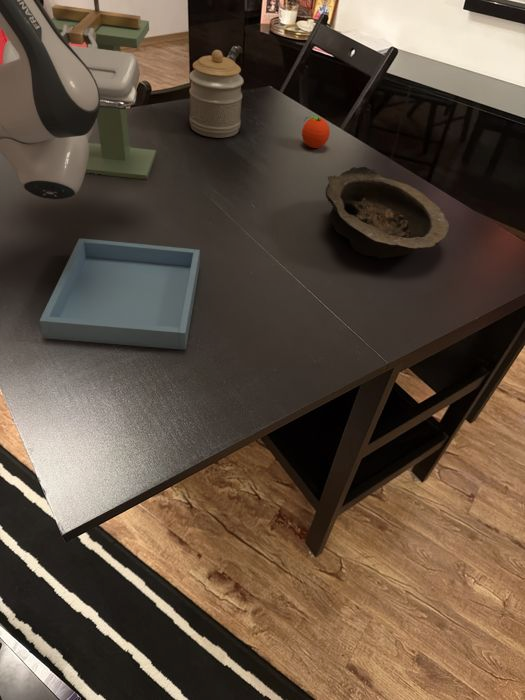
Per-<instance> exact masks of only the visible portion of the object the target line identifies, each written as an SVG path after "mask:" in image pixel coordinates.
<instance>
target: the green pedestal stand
mask: <svg viewBox="0 0 525 700" xmlns="http://www.w3.org/2000/svg"><path fill="white" fill-rule="evenodd" d="M51 20H52V21H53V23H54V24H55V26H56V27H57V29H58V30H59V32H60V33H61V32H63V27H64V25H71V26H74V27H75V26H76V25H78V24H79V23H80V22H81V21H78V20H71V19H63V18H56V17H52V18H51ZM149 31H150V21H149V20H143V19H141V26H140V28H131V27H124V26H116V25H108V24H101V25H100V26H99V27H98V28H97V29H96V30H95V34H96V41H95V42H96V44H97V46H98V49H104V50H111V51H119V52H122V51H121V49H122V48H128V49H129V48H130V49H138V48H139V47H140V45H141V44H142V42H143V40H144V39H145V37H147V34H148V33H149ZM85 45H86V47H88V44H86V43H85ZM121 47H122V48H121ZM127 113H128V112H127V107H126V108H125V109H116V108H104V107H99V112H98V115H97V118H96V121H97V127H98V128H97V129H98V137H99V143H94V142H93V143H92V142H89V158H88V163H87V168H86V172H85V174H89V173H92V174H91V175H98V174H101V175H100V176H109V177H116V178H117V177H118V178H127V179H128V178H129V179H137V180H146V181H147V180H148V178H149V176H150V172H151V170H152V167H153V164H154V161H155V159H156V156H157V150H156V149H150V148H149V149H148V148H141V147H140V148H138V147H131V144H130V134H129V124H128V123H129V122H128V114H127ZM93 173H94V174H93Z"/></svg>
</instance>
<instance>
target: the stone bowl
mask: <svg viewBox="0 0 525 700" xmlns="http://www.w3.org/2000/svg"><path fill="white" fill-rule="evenodd" d="M327 180H328V184H327V186H326V187H325V197H326V199H327V201H328V202H329V203H330V204H331V206H332V209H331V211H330V212H329V216H328V222H327V223H328V227H329V229H330V230H333V231H335V232H336V233H337V234H339V235H341V236H343V237H345V238H347V240H349V242H350V246H351V247H352V249H353V250H354V251H355V252H357V253H359V254H361V255H363V256H365V257H374V258H375V257H376V258H377V259H388V258H394V257H395V258H396V257H402V256H406V255H408V254H409V253H411V252H412V251H414V250H415V249H420V248H423V249H424V248H431V247H434V246H435V245H436V243H439V242H440V241H442V240H443V239H444V238H445V237H446V236H447V234H448V231H449V228H450V224H449V222H448V220H447V219H446V218H445V217H446V215H445V214H444V212H443V210H442V209H441V208H440V207H439V206H438V205H437V204H436V203H435V202H433V200H430V199H429V198H428V197H427V196H426V195H425V193H423V192H421V191H419V190H418V189H416V188H414V187H412V186H411V185H410V184H407V183H404V182H401V181H397V180H394V179H391V178H387V177H383V176H382V175H381V174H379V173H378V172H377V171H376V170H375V169H371V168H369V167H366V166H359V167H355V166H354V167H351V168H349V170H346V171H344V172H342V173H341V174H340V175H338V176H336V175H328V176H327Z"/></svg>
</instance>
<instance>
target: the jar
mask: <svg viewBox="0 0 525 700" xmlns="http://www.w3.org/2000/svg"><path fill="white" fill-rule="evenodd" d="M192 69H193V70H192V71H191V72H190V73H189V75H188V77H189V80H190V81H191V84H190V88H189V90H188V92H189V116H188V117H189V124H190V128H191V129H192V131H193V132H194V133H196V134H198V135H201V136H204V137H208V138H215V139H221V138H222V139H223V138H229V137H233V136H235V135H237V134H238V133H239V132H240V128H241V124H242V123H241V122H242V119H241V113H242V99H243V92H242V85H243V84H244V82H245V81H244V78H243V77H242V75H240V73H241V71H242V69H241V67H240V65H238V64H237V63H236V62H235V61H234V60H233V59H231V58H229V57H226V56H224V54H223V52H222V51H221V50H220V49H214V50H213V51H212V52H211V55H203V56H201V57H199V58H198V59H197V60H195V61H194V62H193V63H192Z"/></svg>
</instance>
